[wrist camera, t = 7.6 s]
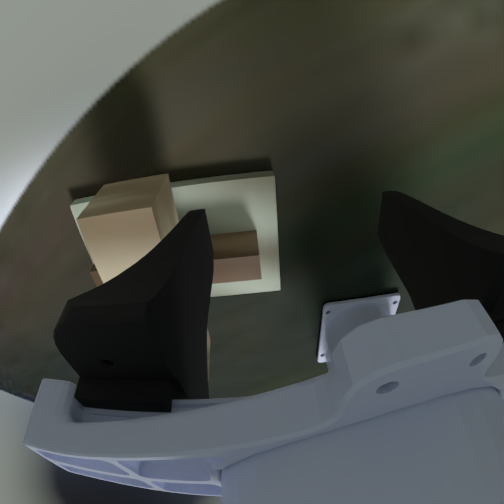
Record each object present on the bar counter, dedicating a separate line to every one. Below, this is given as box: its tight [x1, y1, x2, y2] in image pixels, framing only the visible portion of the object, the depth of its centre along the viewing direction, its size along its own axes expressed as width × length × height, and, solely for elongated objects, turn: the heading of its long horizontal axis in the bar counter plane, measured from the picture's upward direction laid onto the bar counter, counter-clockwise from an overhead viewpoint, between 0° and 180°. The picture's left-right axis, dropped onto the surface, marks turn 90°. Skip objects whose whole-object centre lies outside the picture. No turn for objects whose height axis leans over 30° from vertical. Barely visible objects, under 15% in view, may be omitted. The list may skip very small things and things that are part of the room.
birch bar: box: [76, 173, 210, 381], centre depth 19 cm, size 14×4×4 cm, turn 5°
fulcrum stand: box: [70, 171, 280, 297], centre depth 22 cm, size 10×15×4 cm, turn 95°
